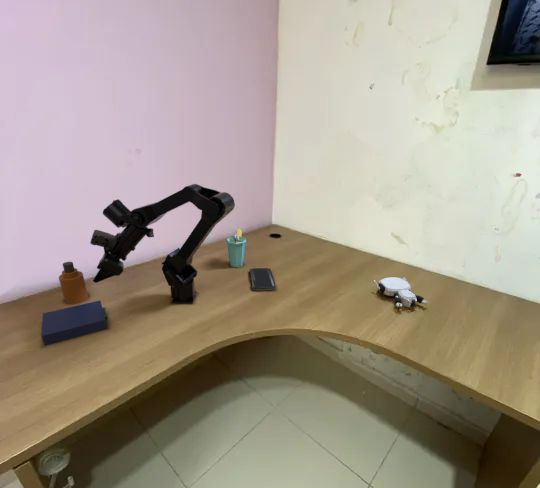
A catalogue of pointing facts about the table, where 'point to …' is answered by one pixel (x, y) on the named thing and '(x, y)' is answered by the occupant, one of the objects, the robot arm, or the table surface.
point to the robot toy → (399, 291)
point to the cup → (236, 249)
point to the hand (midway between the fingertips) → (96, 274)
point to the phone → (262, 279)
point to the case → (73, 322)
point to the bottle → (72, 284)
